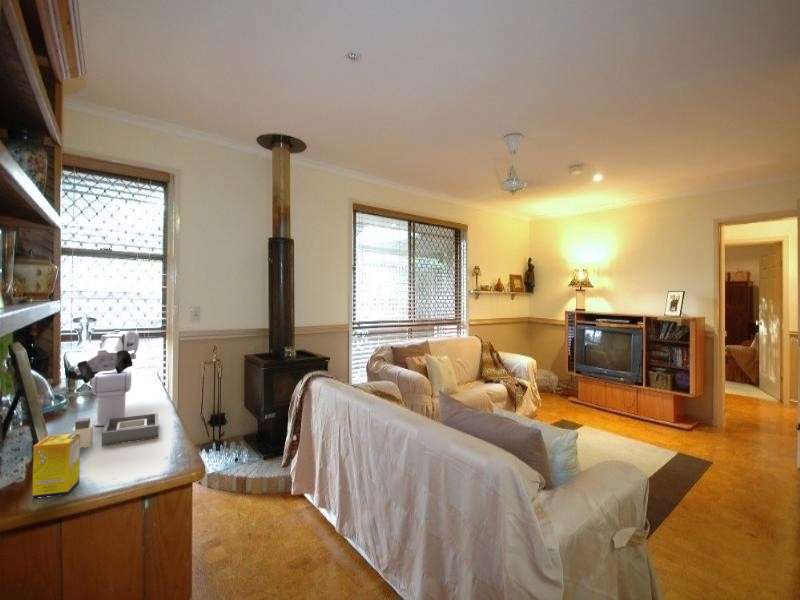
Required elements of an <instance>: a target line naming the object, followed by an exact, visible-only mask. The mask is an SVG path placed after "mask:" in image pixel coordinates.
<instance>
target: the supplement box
mask: <svg viewBox="0 0 800 600" xmlns="http://www.w3.org/2000/svg"><path fill="white" fill-rule="evenodd" d="M32 447H33V448H32V449H33V453H32V454H33V455H32V457H33V458H32V459H33V460H32V499H33V498H38V497H47V496H56V497H60V496H59V495H63V496H68V495H69V494H70V493H72V492H71V491H73V490H74V489H75V487H76V486H77V485H78V484H80V475H81V474H80V472H81V471H80V470H81V469H80V468H81V467H80V466H81V448H80V433H78V434H72V433H70V434H67V433H66V434H56V435H55V434H54V435H53V434H52V435H47V436H46V437H44V438H43V439H41V440H40V441H38V442H37V443H35V444H34V445H33V446H32Z"/></svg>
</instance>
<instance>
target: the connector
mask: <svg viewBox="0 0 800 600" xmlns="http://www.w3.org/2000/svg"><path fill="white" fill-rule="evenodd" d="M78 433H80V449H82V448H81V447H84V448H90V447H89V446H92V444H93V441H94V439H93V438H94V437H93V436H94V424H93V423H91V417H85V418H77V419H76V420H75V423H74V426H73V427H72V430H71V434H78Z"/></svg>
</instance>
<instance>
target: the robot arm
mask: <svg viewBox="0 0 800 600" xmlns="http://www.w3.org/2000/svg"><path fill="white" fill-rule="evenodd" d="M139 344H140V333H139V332H138V331H135V330H133V331H132V330H130V331H129V330H120V329H115V330H113V331H108V333H107V334H101V338H100V344H99V349H98V350H97V354H96V355H94V356H92V357H91V358H90V359H88V360H83V361H80V362H78V363H77V365H76V366H75V368H74V371H75V373H76V375H77V376H79V375H81V378H82V380H83V382H84V384H88V383H89V382H91V393H93V394H94V395H96V398H97V407H96V408H97V411H96V413H97V414H96V416H97V417H96V420H95V423H94V424H93V427H102V426H105V423H106V420H107V419H110V418H119V417H127V416H128V413H126V393H129V392H130V390H131V387H132V372H131V370H127V368H130V367H132V366H133V364H134V363H133V361H132V360H135V359H136V358H137V354H136V353H137V352H138V348H139ZM93 372H94V373H95V372H97V373H95V374H94V373H93ZM91 379H92V380H91Z"/></svg>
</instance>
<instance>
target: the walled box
mask: <svg viewBox="0 0 800 600" xmlns="http://www.w3.org/2000/svg"><path fill="white" fill-rule="evenodd" d="M159 425H160V424H159V414H158V412H155V413H146V414H137V415H130V416H129V415H127V417H119V418H110V419H107V420H106V423H105V425H104V427H103V429H102V430H103V431H102V434H101V446H102V447H103V445H105V446H111V445H110V444H112V445H117V444H116V443H119V444H123V443H122V442H125V443H129V442H128V441H132V442H138V441H137V440H139V441H143V440H142V439H146V440H150V439H149V438H153V439H156V438H155V437H158V438H159Z"/></svg>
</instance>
